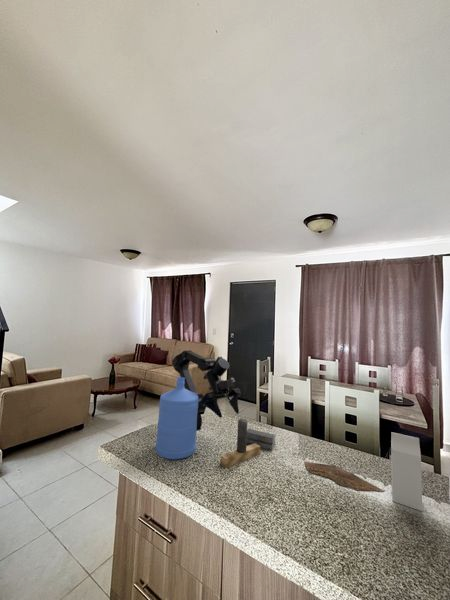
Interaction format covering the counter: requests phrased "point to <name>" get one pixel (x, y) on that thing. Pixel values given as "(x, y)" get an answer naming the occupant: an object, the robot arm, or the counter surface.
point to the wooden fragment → (341, 476)
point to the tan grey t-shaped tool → (240, 447)
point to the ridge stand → (261, 439)
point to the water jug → (177, 423)
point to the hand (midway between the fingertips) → (229, 415)
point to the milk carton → (406, 470)
